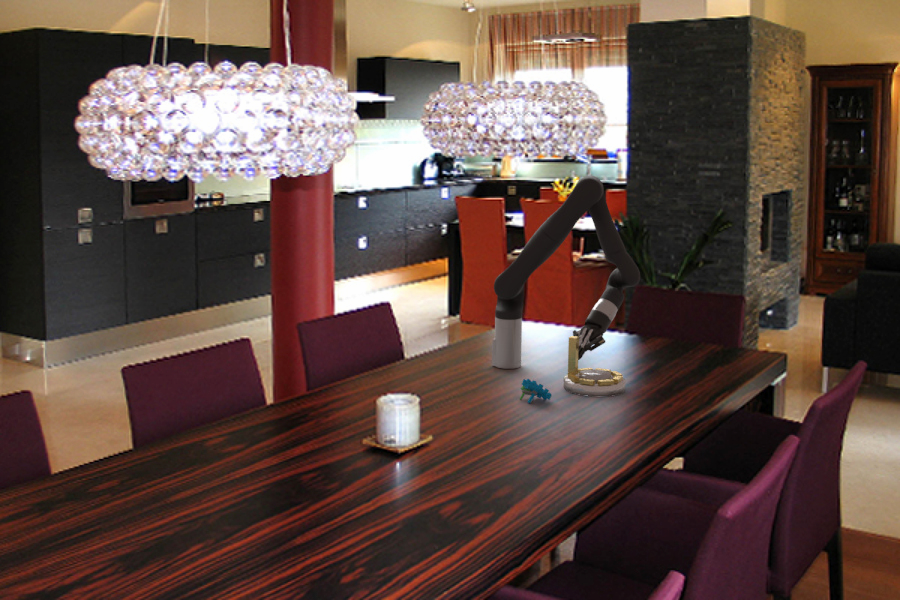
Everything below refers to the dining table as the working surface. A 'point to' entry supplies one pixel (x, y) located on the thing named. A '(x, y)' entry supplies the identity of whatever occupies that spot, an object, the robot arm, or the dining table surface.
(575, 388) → the grey round piece
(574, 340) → the peg on ring base
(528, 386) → the blue lobed toy
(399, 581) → the dining table surface
